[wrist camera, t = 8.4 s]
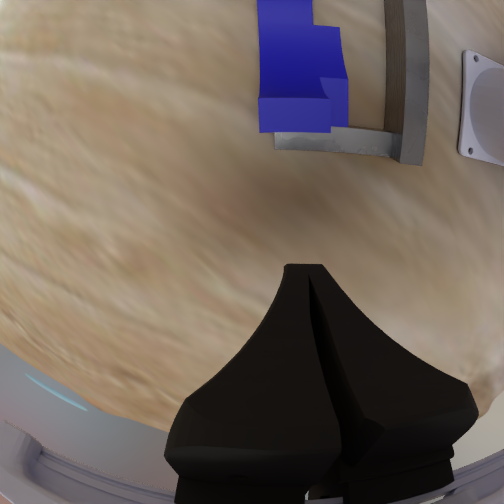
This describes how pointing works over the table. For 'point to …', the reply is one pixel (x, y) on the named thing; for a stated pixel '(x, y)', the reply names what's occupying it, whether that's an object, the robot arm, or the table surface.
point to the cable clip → (299, 70)
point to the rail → (387, 96)
